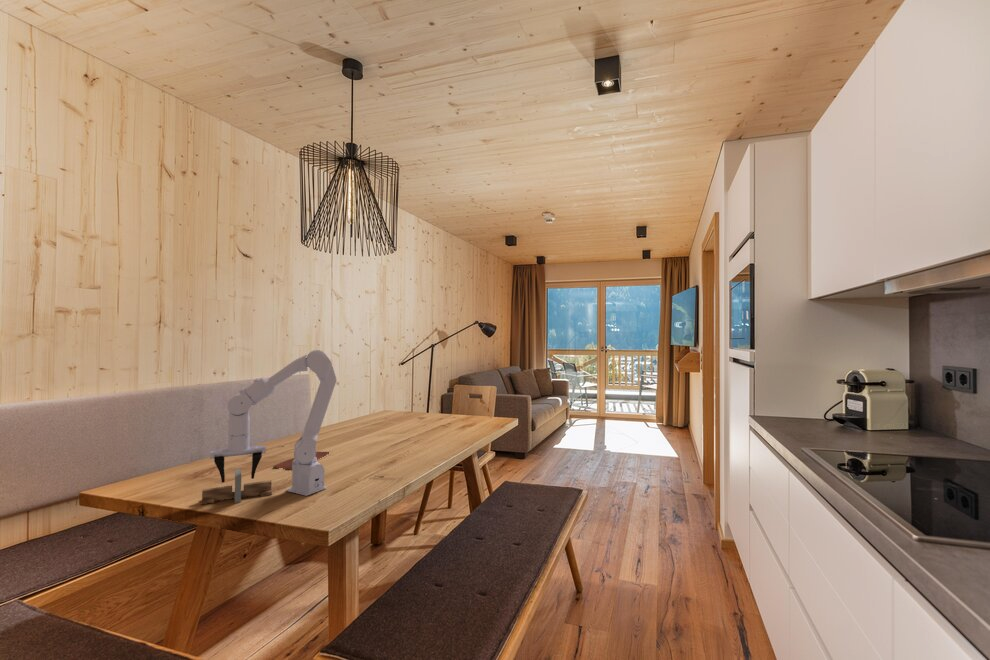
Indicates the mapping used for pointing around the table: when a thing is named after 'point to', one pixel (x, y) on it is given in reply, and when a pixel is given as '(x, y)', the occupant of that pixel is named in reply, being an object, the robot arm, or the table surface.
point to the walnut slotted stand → (226, 492)
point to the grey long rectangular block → (237, 485)
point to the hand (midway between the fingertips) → (238, 479)
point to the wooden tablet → (288, 464)
